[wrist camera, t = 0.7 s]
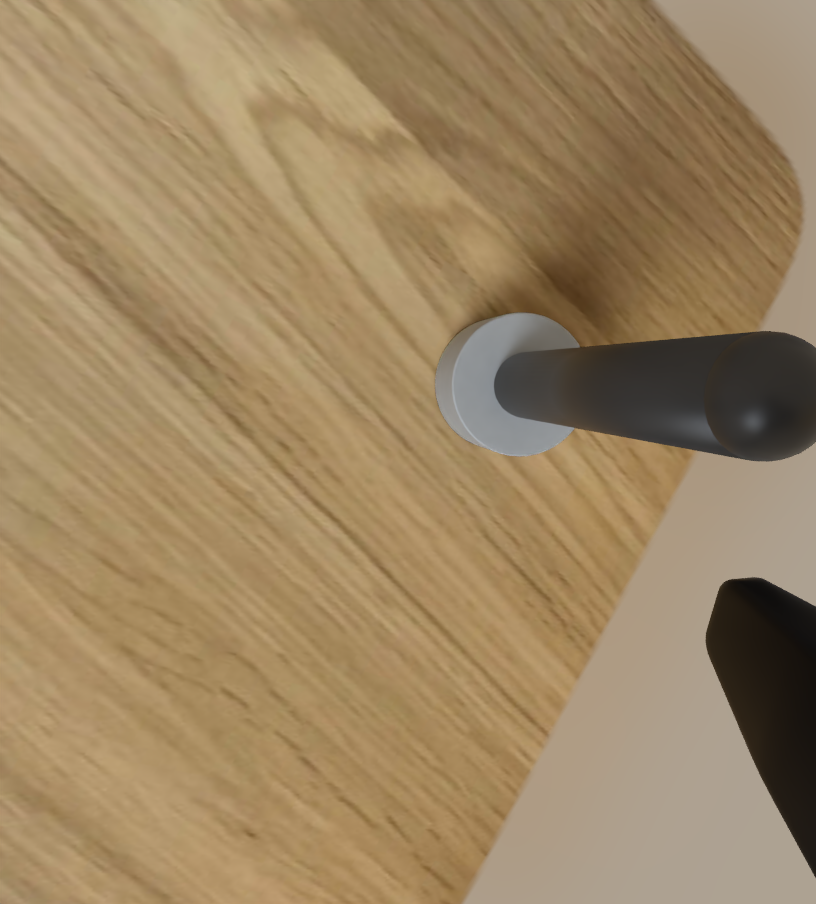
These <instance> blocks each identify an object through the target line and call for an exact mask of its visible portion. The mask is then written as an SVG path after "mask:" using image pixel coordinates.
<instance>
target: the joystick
mask: <svg viewBox="0 0 816 904" xmlns="http://www.w3.org/2000/svg"><path fill="white" fill-rule="evenodd" d="M435 391H436V398H437V402H438V405H439V408H440V410H441V413H442V415H443V417H444V418H445V420H446V422H447V423H448V424H449V425H450V427H451V428H452V429H453V430H454V431H455V432H456V433H457V434H458V435H460V436H461V437H462V438H464V439H465V440H467V441H469V442H471V443H473V444H475V445H478V446H481V447H483V448H486V449H489V450H492V451H494V452H497V453H500V454H504V455H508V456H530V455H535V454H539V453H542V452H545V451H547V450H549V449H551V448H553V447H554V446H556V445H557V444H559V443H560V442H562V441H563V440H564V439H565V438H566V437H567V436H568V435H569V434H570V433H571V432H572V431H573V430H574V428H578V429H584V430H589V431H594V432H600V433H605V434H610V435H616V436H621V437H627V438H632V439H637V440H643V441H648V442H654V443H659V444H664V445H670V446H675V447H681V448H686V449H691V450H697V451H702V452H708V453H713V454H718V455H724V456H729V457H734V458H740V459H745V460H751V461H776V460H782V459H785V458H788V457H791V456H794V455H796V454H799V453H801V452H802V451H804V450H806V449H807V448H809V447H810V446H812V445H813V444H814V443H815V442H816V348H815V347H814V346H813V345H811V344H810V343H808V342H806V341H805V340H803V339H801V338H798V337H796V336H793V335H790V334H787V333H781V332H771V331H761V332H750V333H738V334H727V335H715V336H704V337H692V338H681V339H669V340H658V341H646V342H635V343H624V344H612V345H601V346H589V347H580V346H579V344H578V342H577V341H576V340H575V338H574V337H573V336H572V335H571V334H570V333H569V332H568V331H567V330H566V329H565V328H564V327H563V326H561V325H560V324H559V323H557V322H555V321H554V320H552V319H550V318H547V317H545V316H542V315H538V314H534V313H527V312H516V313H510V314H505V315H501V316H497V317H494V318H490V319H486V320H483V321H479V322H476V323H474V324H472V325H470V326H468V327H467V328H465V329H463V330H462V331H461V332H460V333H458V334H457V335H456V336H455V337H454V338H453V339H452V340H451V341H450V343H449V344H448V345H447V347H446V348H445V350H444V352H443V354H442V356H441V358H440V361H439V363H438V367H437V371H436V378H435Z"/></svg>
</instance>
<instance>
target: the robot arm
mask: <svg viewBox="0 0 816 904" xmlns="http://www.w3.org/2000/svg"><path fill="white" fill-rule="evenodd" d="M706 647H707V651H708V654H709V657H710V660H711V662H712V664H713V667H714V669H715V672H716V674H717V676H718V679H719V681H720V683H721V686H722V688H723V690H724V692H725V695H726V697H727V700H728V702H729V705H730V707H731V709H732V711H733V714H734V716H735V718H736V721H737V723H738V725H739V728H740V730H741V732H742V735H743V738H744V740H745V742H746V744H747V747H748V749H749V752H750V754H751V756H752V758H753V760H754V763H755V765H756V767H757V769H758V771H759V774H760V776H761V778H762V780H763V781H764V783H765V785H766V787H767V789H768V791H769V793H770V795H771V797H772V799H773V801H774V803H775V804H776V806H777V808H778V810H779V812H780V813H781V815H782V817H783V819H784V821H785V822H786V824H787V826H788V828H789V830H790V832H791V834H792V835H793V837H794V839H795V841H796V842H797V845H798V846H799V848H800V850H801V852H802V853H803V855H804V857H805V859H806V861H807V863H808V865H809V867H810V868H811V870H812V872H813V874H814V876H815V877H816V606H813V605H811V604H810V603H808V602H806V601H804V600H802V599H800V598H798V597H797V596H795V595H793V594H791V593H789V592H787V591H785V590H783V589H781V588H780V587H778V586H776V585H774V584H772V583H770V582H768V581H766V580H764V579H762V578H755V577H754V578H742V579H731V580H728V581H725V582H724V583H723V584H722V585H721V586H720V588H719V591H718V594H717V598H716V601H715V604H714V608H713V611H712V614H711V618H710V621H709V625H708V628H707V632H706Z"/></svg>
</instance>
